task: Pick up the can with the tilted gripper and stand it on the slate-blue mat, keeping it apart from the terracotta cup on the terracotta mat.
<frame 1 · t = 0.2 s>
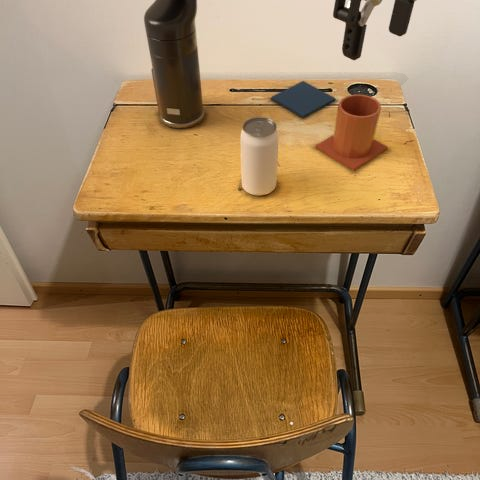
hand: (374, 45, 56), 29 cm above the table, tool pointing down, fingers open, 8 cm apart
can: (258, 186, 86), on the table
terracotta cup: (351, 148, 92), resting on terracotta mat
terracotta mat: (351, 148, 92), on the table
blue mat: (302, 100, 102), on the table
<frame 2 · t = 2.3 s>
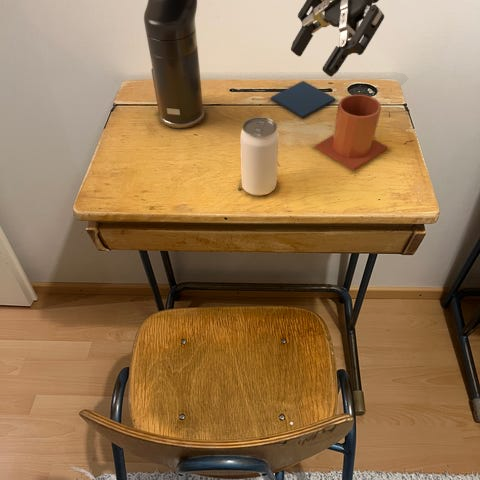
hand: (310, 63, 74), 19 cm above the table, tool tilted 40°, fingers open, 8 cm apart
nothing on the table moved.
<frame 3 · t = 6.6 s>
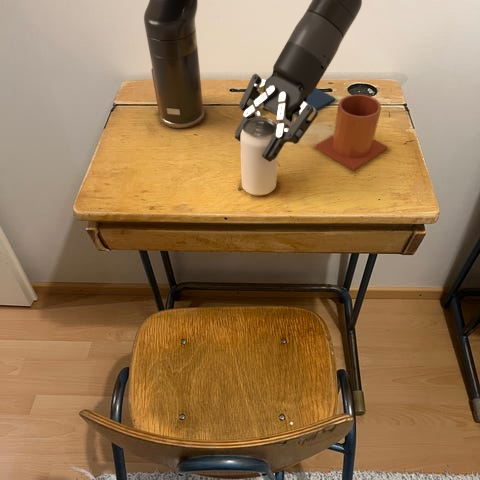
hand: (252, 149, 79), 8 cm above the table, tool tilted 45°, fingers closed on can, 6 cm apart
can: (258, 186, 86), on the table, touching gripper
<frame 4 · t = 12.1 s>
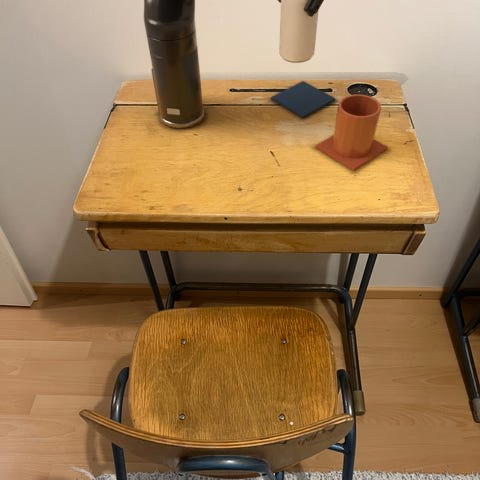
hand: (293, 6, 78), 22 cm above the table, tool tilted 45°, fingers closed on can, 6 cm apart
can: (296, 56, 86), point 14 cm above the table, touching gripper
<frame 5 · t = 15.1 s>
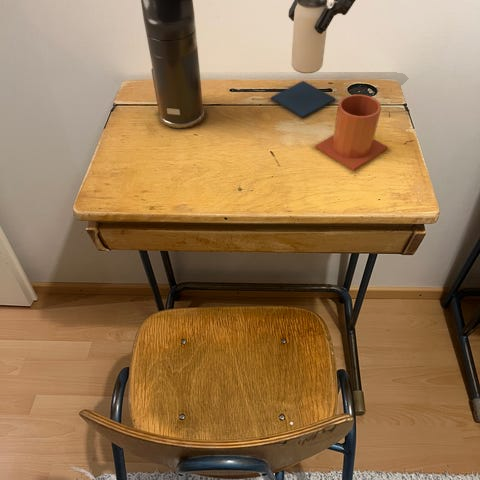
hand: (304, 24, 89), 16 cm above the table, tool tilted 45°, fingers closed on can, 6 cm apart
can: (306, 67, 97), point 7 cm above the table, touching gripper
when the fingers open (9 cm above the table, at t = 17.5 s): can stays where it is, resting on blue mat.
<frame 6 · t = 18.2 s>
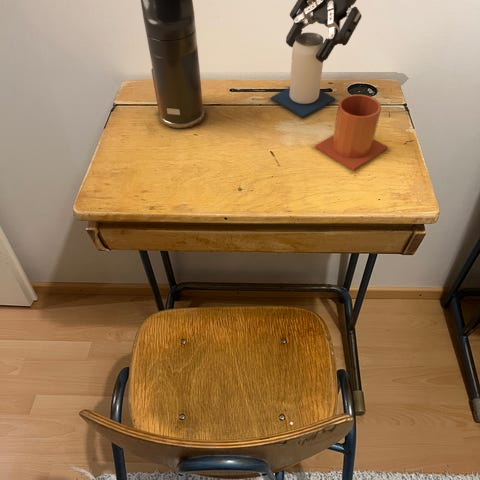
hand: (303, 52, 93), 10 cm above the table, tool tilted 45°, fingers open, 8 cm apart
can: (303, 98, 102), resting on blue mat
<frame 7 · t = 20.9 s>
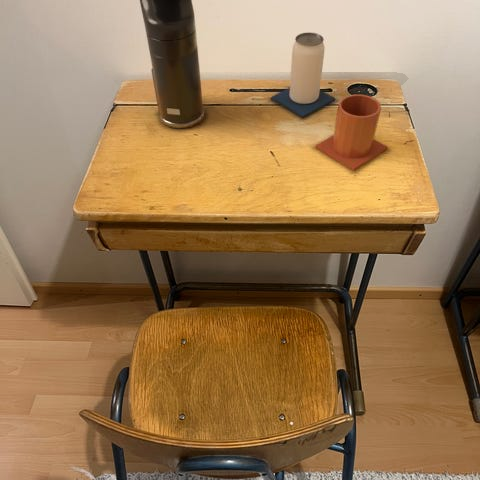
nothing on the table moved.
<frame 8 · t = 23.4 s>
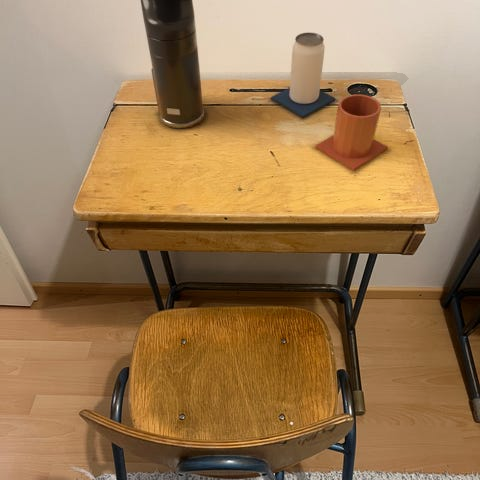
nothing on the table moved.
at the end: can inside the target area on the blue mat (0.2 cm from its centre), point 0.4 cm above the blue mat's base; can tilted 0°; the gripper is holding nothing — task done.
